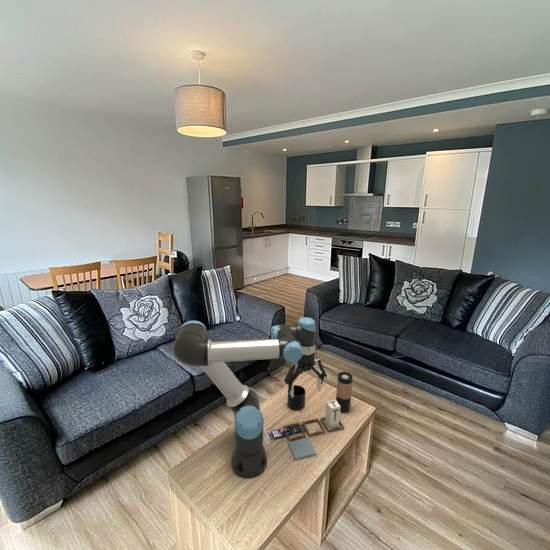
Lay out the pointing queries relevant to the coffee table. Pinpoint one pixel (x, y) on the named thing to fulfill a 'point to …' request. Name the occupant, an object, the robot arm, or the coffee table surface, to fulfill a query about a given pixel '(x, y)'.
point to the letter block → (332, 414)
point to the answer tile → (302, 449)
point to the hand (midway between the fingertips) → (305, 392)
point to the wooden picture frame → (296, 436)
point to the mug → (297, 398)
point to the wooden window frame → (314, 432)
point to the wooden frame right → (332, 428)
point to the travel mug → (344, 391)
